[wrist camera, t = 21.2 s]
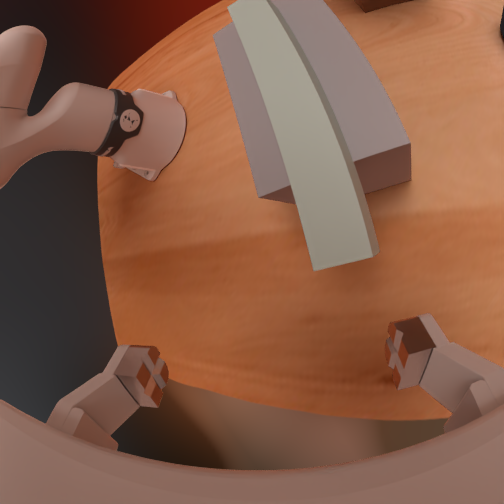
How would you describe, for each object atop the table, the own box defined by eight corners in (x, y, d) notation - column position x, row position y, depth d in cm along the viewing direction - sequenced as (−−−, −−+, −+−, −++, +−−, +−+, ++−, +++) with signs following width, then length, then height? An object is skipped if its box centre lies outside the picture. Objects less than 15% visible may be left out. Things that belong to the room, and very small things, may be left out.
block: (411, 179, 26) (410, 142, 14) (318, 208, 32) (258, 197, 21) (348, 49, 27) (306, -18, 15) (275, 82, 34) (212, 35, 22)
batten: (380, 251, 16) (372, 257, 13) (331, 263, 18) (313, 271, 15) (277, 8, 18) (258, -12, 15) (248, 24, 20) (227, 7, 17)
